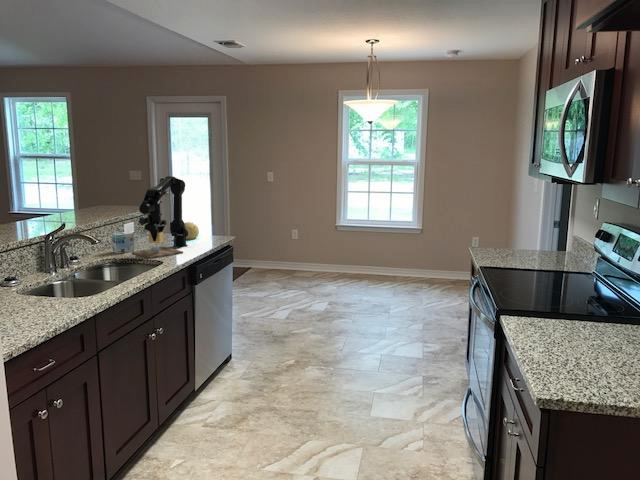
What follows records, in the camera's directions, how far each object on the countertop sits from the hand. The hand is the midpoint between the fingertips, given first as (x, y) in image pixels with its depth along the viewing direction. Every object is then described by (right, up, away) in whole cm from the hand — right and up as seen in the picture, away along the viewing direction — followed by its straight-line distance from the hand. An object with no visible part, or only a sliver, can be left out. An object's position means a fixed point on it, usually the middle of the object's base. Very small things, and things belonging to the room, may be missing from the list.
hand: (156, 240), depth 282 cm
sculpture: (+5, +1, +50) cm, 51 cm away
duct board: (-1, -7, +5) cm, 9 cm away
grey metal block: (0, -8, +1) cm, 8 cm away
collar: (0, -1, 0) cm, 1 cm away
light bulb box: (-21, -7, +9) cm, 24 cm away
